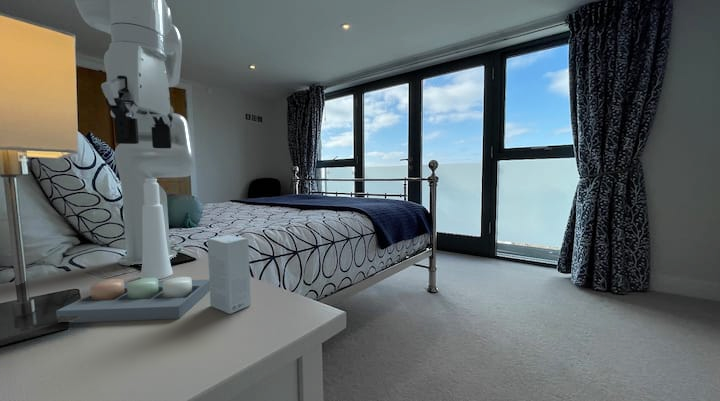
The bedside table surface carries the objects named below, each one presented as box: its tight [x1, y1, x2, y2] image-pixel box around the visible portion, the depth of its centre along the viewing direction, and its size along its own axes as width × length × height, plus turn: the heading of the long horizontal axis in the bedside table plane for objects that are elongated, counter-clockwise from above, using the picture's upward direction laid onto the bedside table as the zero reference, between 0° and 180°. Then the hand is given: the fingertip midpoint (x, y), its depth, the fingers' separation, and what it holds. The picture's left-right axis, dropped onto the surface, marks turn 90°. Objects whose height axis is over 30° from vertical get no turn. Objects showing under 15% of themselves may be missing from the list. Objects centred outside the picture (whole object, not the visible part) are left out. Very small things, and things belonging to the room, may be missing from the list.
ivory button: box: [162, 276, 193, 299], centre depth 52 cm, size 4×4×2 cm
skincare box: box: [207, 234, 252, 315], centre depth 51 cm, size 6×4×12 cm
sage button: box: [127, 278, 159, 300], centre depth 52 cm, size 4×4×2 cm
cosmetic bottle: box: [139, 178, 174, 281], centre depth 65 cm, size 6×6×22 cm
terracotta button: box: [89, 278, 125, 301], centre depth 51 cm, size 4×4×2 cm
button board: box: [55, 279, 210, 324], centre depth 52 cm, size 12×18×2 cm, turn 95°
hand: (146, 146), depth 52 cm, fingers open, 9 cm apart
